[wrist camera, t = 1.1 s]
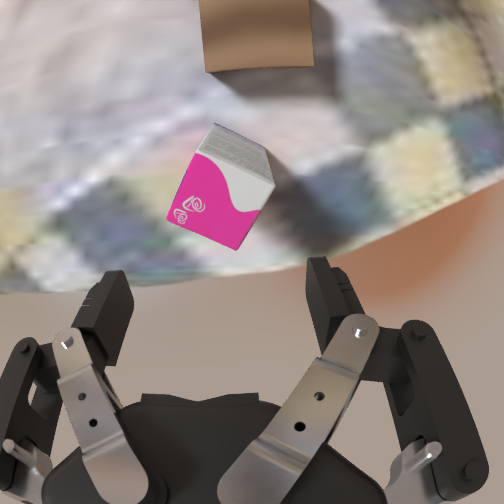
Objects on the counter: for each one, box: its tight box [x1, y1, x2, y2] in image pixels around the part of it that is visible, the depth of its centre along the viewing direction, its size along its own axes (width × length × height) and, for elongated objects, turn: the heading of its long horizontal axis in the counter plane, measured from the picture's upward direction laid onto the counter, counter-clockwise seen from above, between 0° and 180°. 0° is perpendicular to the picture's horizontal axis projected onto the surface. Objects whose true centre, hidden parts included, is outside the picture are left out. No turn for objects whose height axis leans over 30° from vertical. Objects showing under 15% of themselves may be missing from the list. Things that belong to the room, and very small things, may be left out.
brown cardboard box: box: [199, 0, 314, 73], centre depth 20 cm, size 9×9×4 cm
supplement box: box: [166, 123, 276, 250], centre depth 24 cm, size 6×6×12 cm
